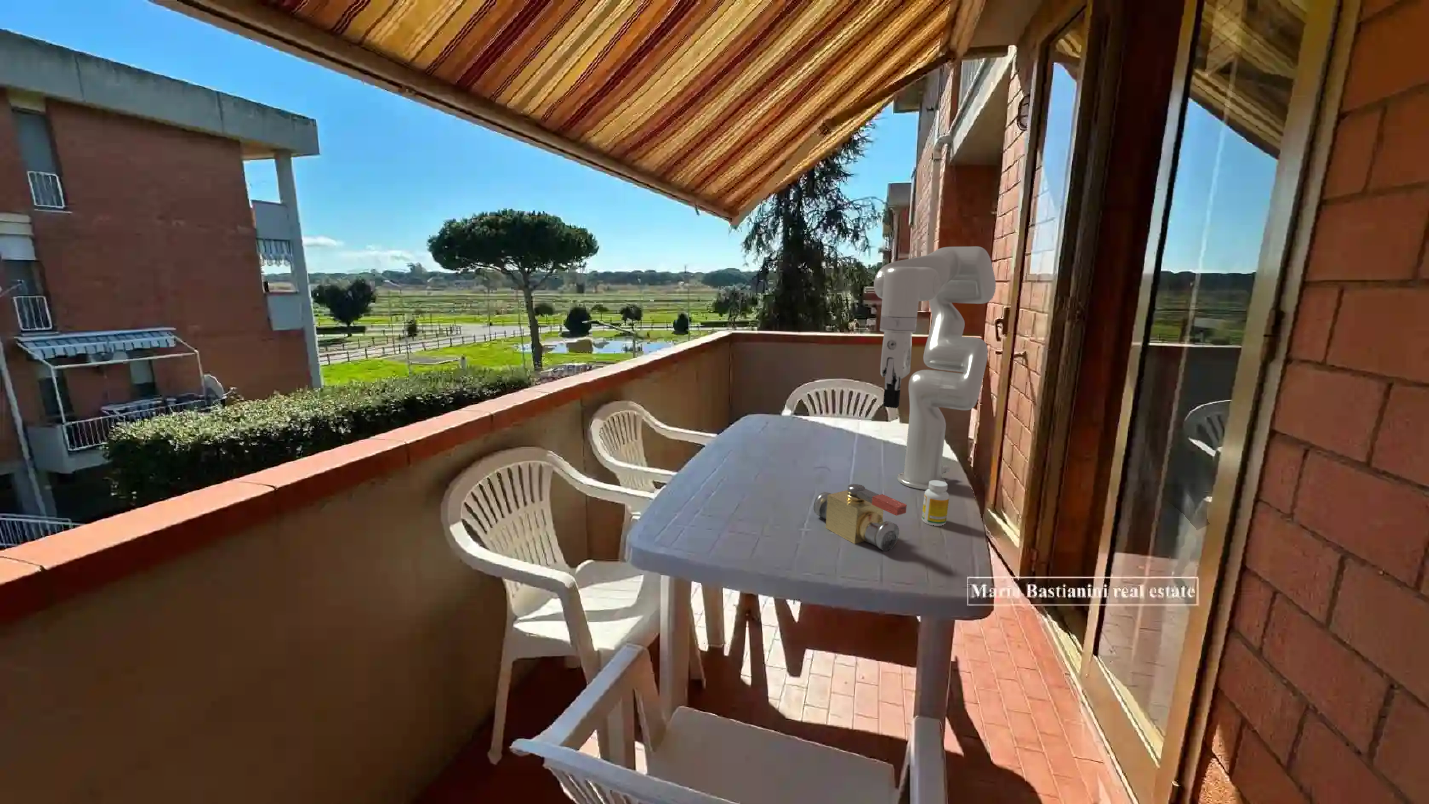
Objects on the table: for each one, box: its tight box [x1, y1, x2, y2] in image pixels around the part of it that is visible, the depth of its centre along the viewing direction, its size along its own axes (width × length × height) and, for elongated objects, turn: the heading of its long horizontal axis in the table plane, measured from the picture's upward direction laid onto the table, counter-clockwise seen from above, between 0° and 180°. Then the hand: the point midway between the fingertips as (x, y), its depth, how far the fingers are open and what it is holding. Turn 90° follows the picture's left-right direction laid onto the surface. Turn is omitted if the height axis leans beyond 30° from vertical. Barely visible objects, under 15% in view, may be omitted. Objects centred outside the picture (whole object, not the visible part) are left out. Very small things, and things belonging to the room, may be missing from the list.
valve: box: [813, 489, 900, 552], centre depth 125 cm, size 20×8×9 cm, turn 31°
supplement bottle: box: [921, 480, 950, 527], centre depth 131 cm, size 5×5×10 cm
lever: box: [847, 483, 908, 516], centre depth 119 cm, size 14×4×2 cm, turn 31°
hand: (890, 406), depth 127 cm, fingers closed
